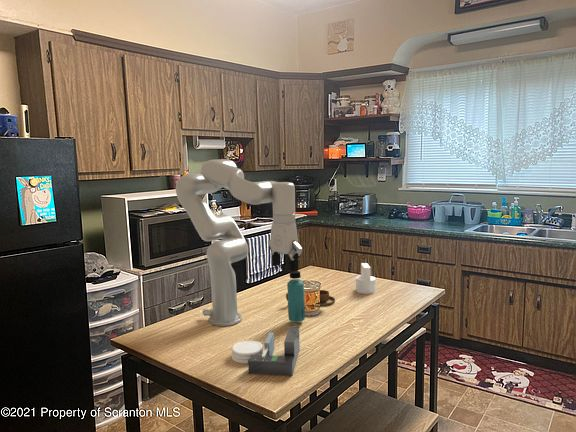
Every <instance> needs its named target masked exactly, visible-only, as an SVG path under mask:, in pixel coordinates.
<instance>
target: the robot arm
mask: <svg viewBox="0 0 576 432" xmlns="http://www.w3.org/2000/svg"><path fill="white" fill-rule="evenodd" d="M222 188H224V189H226V190H228V191H229V193H230V194H231V195H232V197H234V198H235V199H236V200H239V201H241V202H244V203H246V204H249V205H254V206H255V205H256V206H257V205H261V204H270V203H272V223H271V227H270V238H269V240H268V242H267V243H268V246H269V250H270V254H271V256H272V257H271V265H272V267H277V266H278V267H279V266H281V254H283V255H288V256H289V258H290V260H289V273H290V272H294V271H299V260H300V257H301V256H302V253H303V247H302V246H301V245H300V244H299V239H298V229H297V224H296V188H295V184H294V183H293V182H289V181H274V180H262V181H250V180H247V179H245V174H244V172H243V170H241V168H238V166H237V164H236V163H235V162H234V161H233V160H231V159H227V158H222V159H219V158H218V159H209V160H207V161H205V162H204V163H203V164H202V166H201V168H200V172H194V173H186V174H184V175H181V176H180V177H178V179H177V181H176V185H175V195H176V197H177V200H178V202H179V204H180V205H181V207H182V208H183V209H184V211H185V213H187V215H188V217H189V219H190V221H191V223H192V224H193V226H194V228H195V231H196V232H197V233H198V235H199V237H200V238H201V239H202V240H203V241H205V242H213V241H214V242H213V243H211V244H210V245H209V246H208V247H207V250H206V259H207V263H208V267H209V272H210V273H209V275H210V287H211V305H212V308H210V309H208V308H203V309H202V314H203V316H204V317H205V316H206V317H207V316H209V318H208V323H209V324H210V325H213V326H215V327H228V326H232V325H236V324H238V323H240V322H241V321H242V319H243V317H242V316H243V315H241V313H239V312H238V301H237V300H238V297H237V296H238V295H237V294H238V293H237V279H236V272H235V270H234V268H233V267H232V264H233V263H236V262H239V261H242V260H244V259H246V257H248V255H249V245H248V242H247V240H246V238H245V237H244V235H243V234H242V231H241V229H240V228H239V226H238V224H237V223H236V221H235V219H234V218H233V217H231V216H230V215H228V214H223V213H222V214H214V212H212V210H211V208H210V206H209V205H208V203H207V202H206V201H205V200H203V199H202V198H201V197H199V196H198V195H207V194H214V193H216V192H218V191H220V190H221V189H222ZM221 239H222V240H221Z"/></svg>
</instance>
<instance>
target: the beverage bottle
mask: <svg viewBox="0 0 576 432" xmlns="http://www.w3.org/2000/svg"><path fill="white" fill-rule="evenodd" d="M289 278H290V280H289V281H288V282H287V283H286V286H287V293H288V300H287V316H288V320H289V321H290V322H294V323H299V322H303V321H305V319H306V310H305V303H306V302H305V296H306V295H305V289H304V288H305V287H304V284H305V283H304V281H303V280H302V279H300V278H301V272H300V271H299V270H298V271H294V272H290V271H289Z"/></svg>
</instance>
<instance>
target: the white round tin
mask: <svg viewBox="0 0 576 432" xmlns="http://www.w3.org/2000/svg"><path fill="white" fill-rule="evenodd" d="M263 349H264V346H263V344H262V343H261V342H259V341H257V340H244V341H238V342H236V343H235V344H233V345H232V346H231V358H232V360H233V361H234V362H236V363H238V364H244V365H245V364H248V360H249V358H250V356H251V355H263V353H264V350H263Z"/></svg>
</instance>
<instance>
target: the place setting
mask: <svg viewBox="0 0 576 432" xmlns="http://www.w3.org/2000/svg"><path fill="white" fill-rule="evenodd" d="M319 290H320V303H319V304H320V306H319V307H329V306H332V305H333V304H335V302H336V299H335V297H333V296H332V295H330V292H329V291H328V290H325V289H319ZM285 299H286V301H288V292H287V293H285ZM329 300H331V302H328V303H327V301H329Z"/></svg>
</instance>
